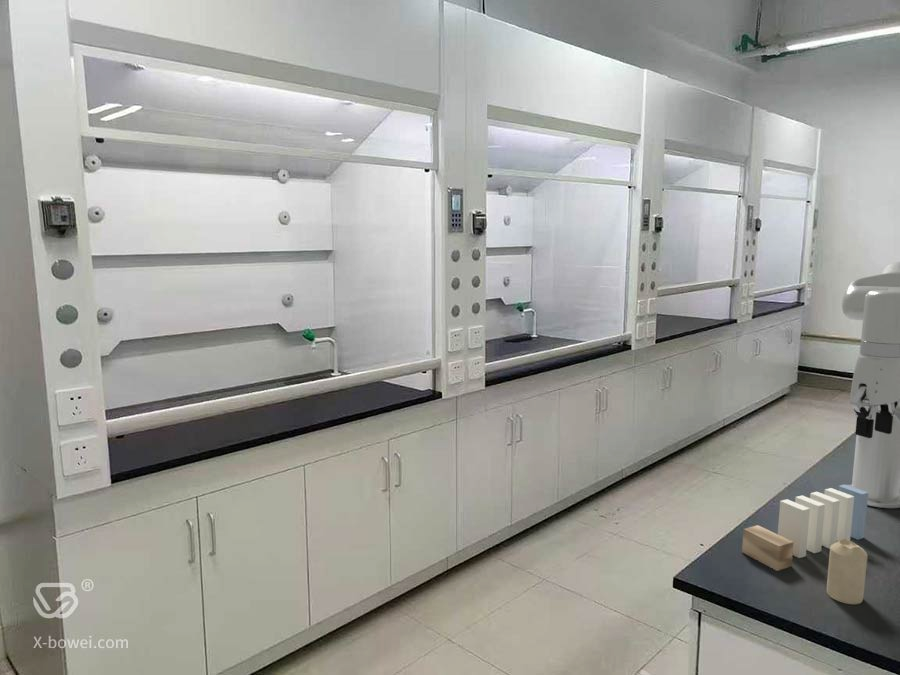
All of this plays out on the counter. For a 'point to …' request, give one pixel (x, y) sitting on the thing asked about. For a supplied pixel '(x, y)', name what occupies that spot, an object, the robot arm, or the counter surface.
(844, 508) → the domino
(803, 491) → the counter surface
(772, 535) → the end block
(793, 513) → the domino
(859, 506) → the domino
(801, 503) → the domino
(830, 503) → the domino
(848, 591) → the candle
